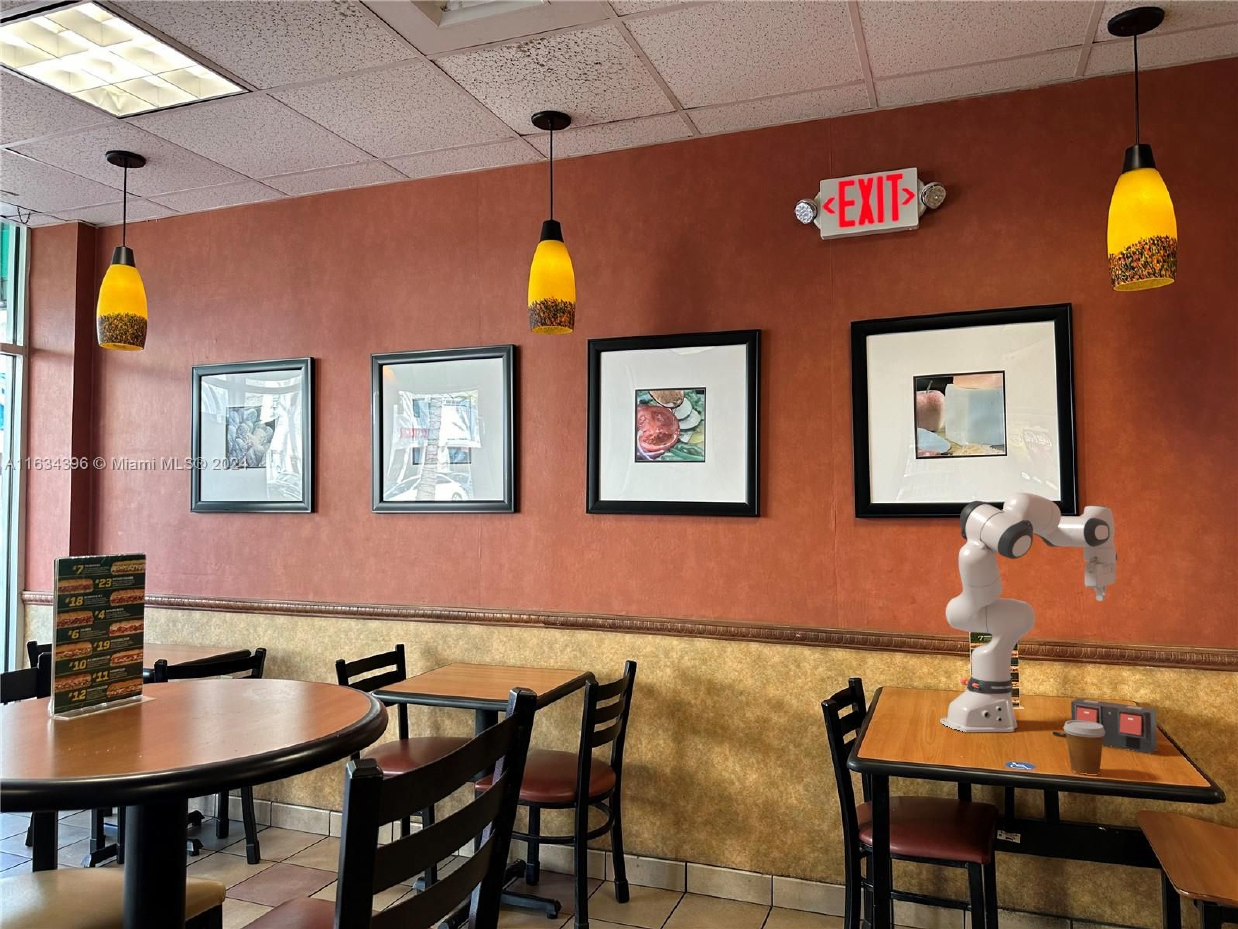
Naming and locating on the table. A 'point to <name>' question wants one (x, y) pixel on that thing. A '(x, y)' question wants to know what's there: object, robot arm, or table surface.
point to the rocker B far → (1131, 724)
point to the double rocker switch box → (1111, 724)
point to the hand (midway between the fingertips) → (1100, 600)
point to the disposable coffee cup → (1084, 745)
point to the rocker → (1087, 714)
